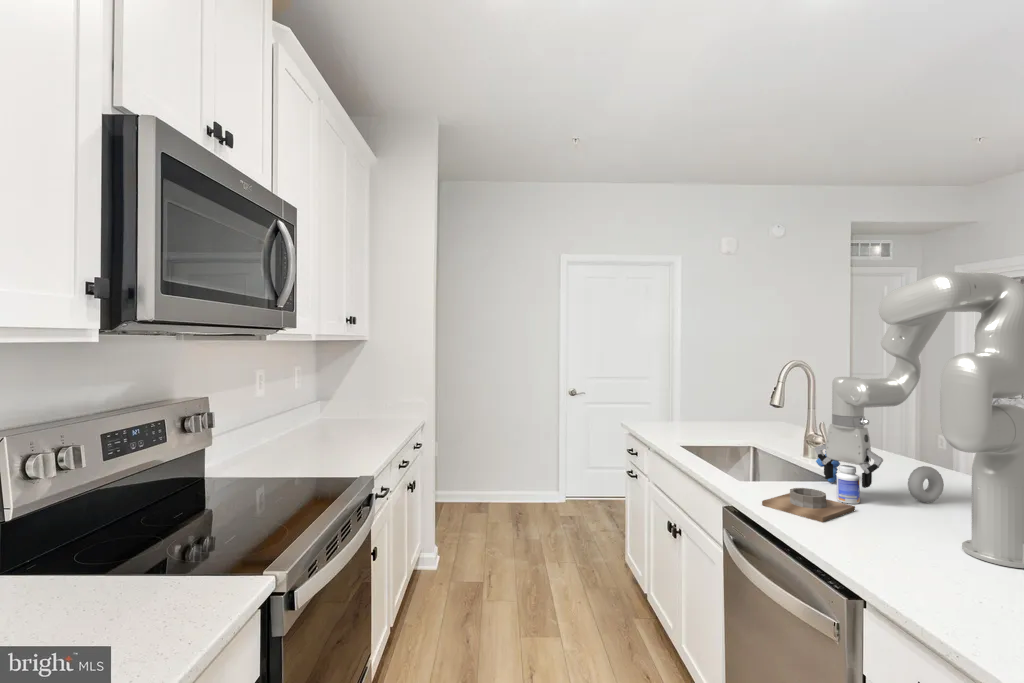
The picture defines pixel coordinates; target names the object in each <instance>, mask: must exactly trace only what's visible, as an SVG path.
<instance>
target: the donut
mask: <svg viewBox="0 0 1024 683" xmlns="http://www.w3.org/2000/svg"><path fill="white" fill-rule="evenodd" d="M907 479H908V480H907V488H908V491H909V493H910V495H911V496H912V497H913V498H914V499H915V500H917V501H919V502H921V503H926V502H929V503H931V502H932V503H933V502H935V501H937V500H938V499H939V498H940V497H941V495H942V494H943V491H944V487H945V486H944V479H943V476H942V474H941V473H940V472H939V471H938V470H937V469H935V468H934V467H932V466H926V465H923V466H919V467H916V468H915V469H913V471H912V472H910V474H909V476H908V478H907ZM925 480H927V482H928V483H927V484H928V485H927V487H926V489H924V482H925Z"/></svg>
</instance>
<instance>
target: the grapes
mask: <svg viewBox="0 0 1024 683" xmlns="http://www.w3.org/2000/svg"><path fill="white" fill-rule="evenodd" d="M824 452H825V453H824V455H825V456H826V450H824ZM826 457H827V456H826ZM815 463H816V464H817V465H818V466H819V467H820V468H824V465H823V464H822V461H821V460H820V459H819V458H818V457H817V459H816V461H815ZM831 464H833V478H830V479H826V480H827V482H829V483H832V484H833V483H835V482H837V474H838V470H839V466H840V465H841V462H840V461H836V460H834V461H832V462H831Z"/></svg>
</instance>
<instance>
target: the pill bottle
mask: <svg viewBox="0 0 1024 683" xmlns="http://www.w3.org/2000/svg"><path fill="white" fill-rule="evenodd" d="M838 470H839V472H837V473H836V475H837V479H836V499H837V502H840V503H842V502H843V503H844V504H847V503H848V505H857V504H860V501H861V499H860V497H861V496H860V492H861V491H860V490H861V489H860V487H861V486H860V476H859V475H858V474H856V473H857V467H856V466H854V465H845V464H840V465H839V466H838Z"/></svg>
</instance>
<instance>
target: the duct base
mask: <svg viewBox="0 0 1024 683" xmlns="http://www.w3.org/2000/svg"><path fill="white" fill-rule="evenodd" d="M761 502H762V503H761V506H763V507H767V508H771V509H775V510H778V511H780V512H786V513H789V514H792V515H796V516H800V517H803V518H805V517H806V519H810V520H812V521H817V522H819V523H820V522H821V523H824V522H828V521H830V519H831V520H833V519H836V518H839V517H842V516H844V515H843V514H845V515H847V514H850V513H853V512H855V511H856V505H853V504H847V503H842V502H840V501H835V500H831V499H827V494H826V492H825V491H824V492H823V491H822V490H819V489H815V488H807V487H806V488H805V487H793V488H790V489H789V492H788V493H785V494H782V495H778V496H774V497H771V498H768V499H764V500H761ZM854 510H855V511H854ZM852 511H853V512H852ZM849 512H850V513H849ZM846 513H847V514H846ZM841 515H842V516H841ZM838 516H839V517H838ZM835 517H836V518H835ZM827 520H828V521H827Z"/></svg>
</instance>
